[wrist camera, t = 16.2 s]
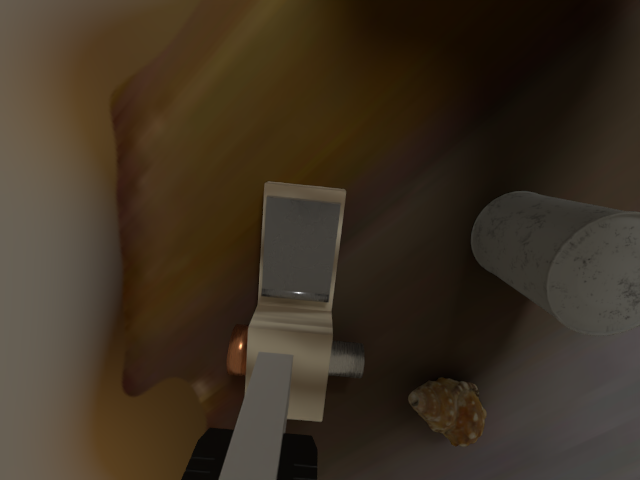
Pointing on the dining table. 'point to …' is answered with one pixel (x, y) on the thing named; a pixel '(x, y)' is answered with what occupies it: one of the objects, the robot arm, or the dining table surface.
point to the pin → (342, 360)
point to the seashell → (450, 409)
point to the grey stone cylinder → (565, 258)
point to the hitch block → (297, 321)
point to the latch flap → (299, 248)
